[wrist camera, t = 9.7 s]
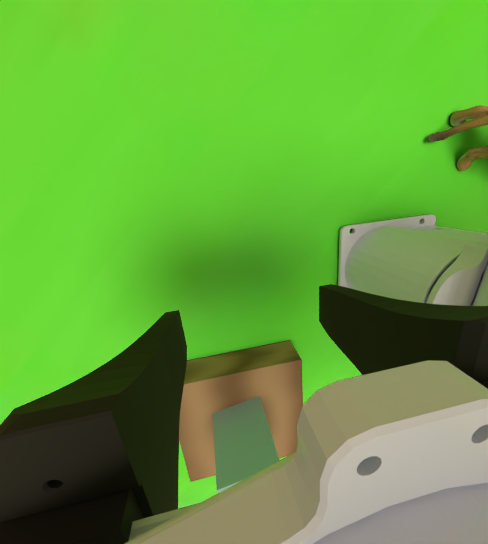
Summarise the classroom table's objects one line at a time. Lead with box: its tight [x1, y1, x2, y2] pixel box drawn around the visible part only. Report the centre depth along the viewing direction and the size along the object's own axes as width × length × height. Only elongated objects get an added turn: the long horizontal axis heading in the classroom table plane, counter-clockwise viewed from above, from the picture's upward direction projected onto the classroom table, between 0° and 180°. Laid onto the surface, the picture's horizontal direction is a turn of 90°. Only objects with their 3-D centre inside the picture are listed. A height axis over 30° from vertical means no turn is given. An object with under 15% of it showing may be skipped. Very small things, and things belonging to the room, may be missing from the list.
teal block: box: [213, 397, 280, 493], centre depth 20 cm, size 4×4×6 cm
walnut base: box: [179, 340, 303, 481], centre depth 24 cm, size 12×12×3 cm
